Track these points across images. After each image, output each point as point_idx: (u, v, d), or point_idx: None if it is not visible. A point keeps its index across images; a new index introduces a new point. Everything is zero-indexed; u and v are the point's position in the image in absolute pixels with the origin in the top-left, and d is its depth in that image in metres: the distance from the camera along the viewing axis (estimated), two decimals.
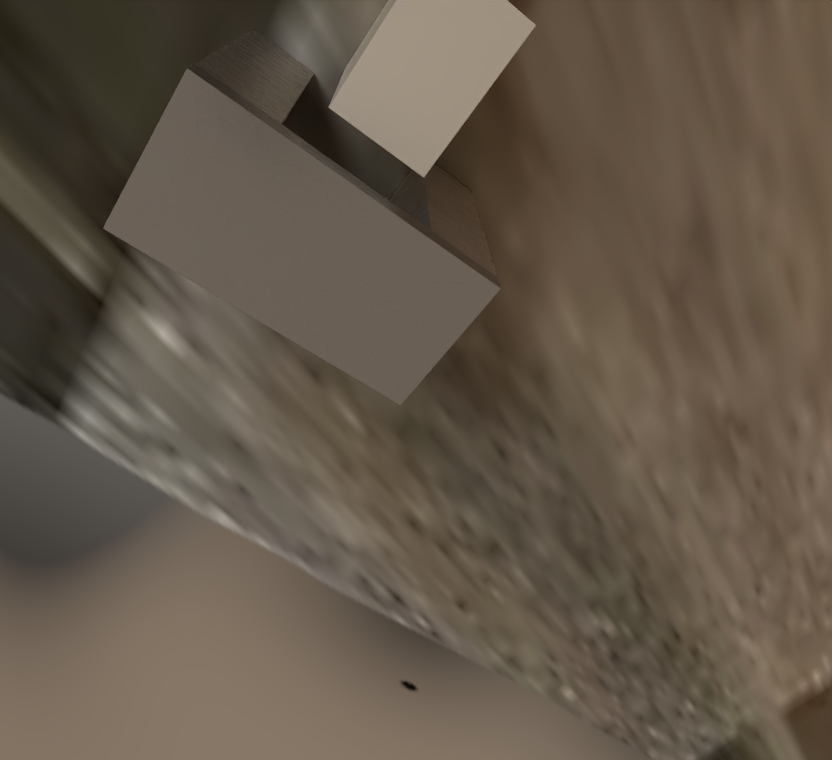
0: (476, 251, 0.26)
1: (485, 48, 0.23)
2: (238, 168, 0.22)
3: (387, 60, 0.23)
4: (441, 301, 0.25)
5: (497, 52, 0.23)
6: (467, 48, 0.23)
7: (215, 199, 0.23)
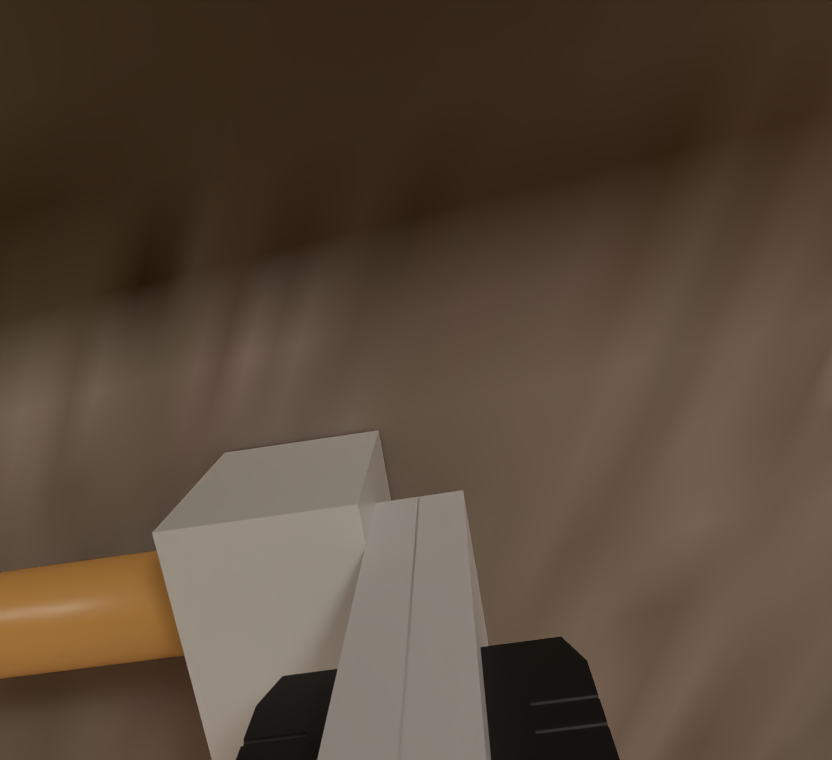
0: None
1: None
2: None
3: None
4: None
5: None
6: None
7: None
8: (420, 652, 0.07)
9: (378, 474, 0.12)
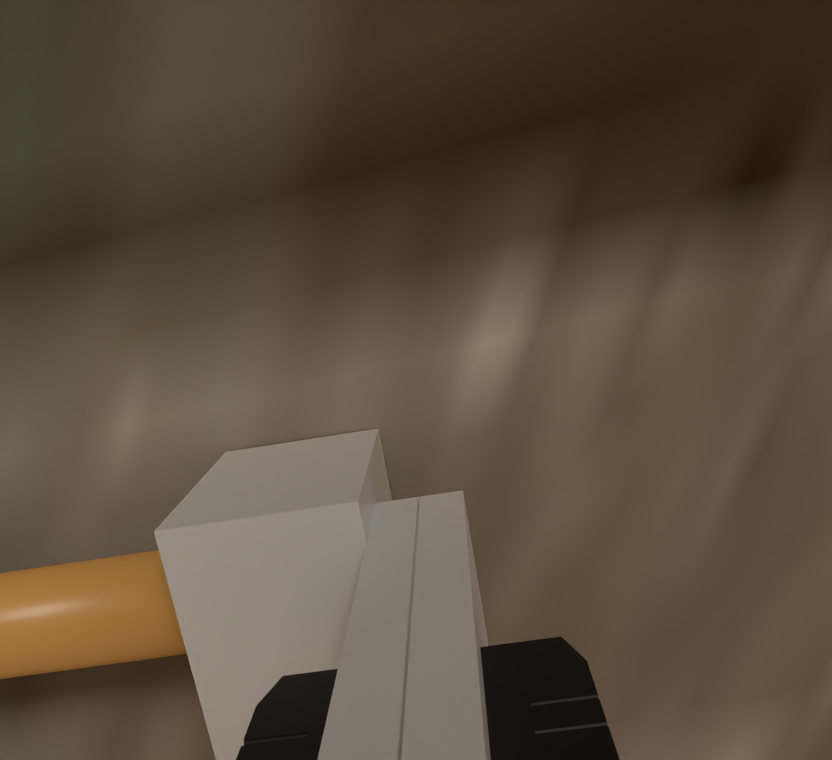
0: None
1: None
2: None
3: None
4: None
5: None
6: None
7: None
8: (420, 652, 0.07)
9: (378, 472, 0.12)
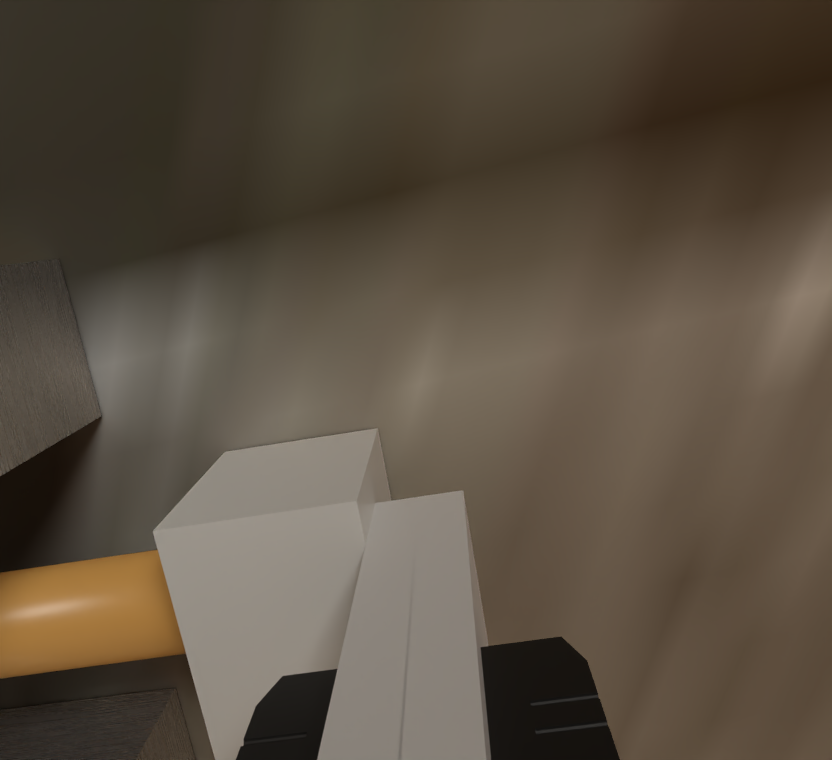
0: None
1: None
2: None
3: None
4: None
5: None
6: None
7: None
8: (420, 652, 0.07)
9: (378, 471, 0.12)
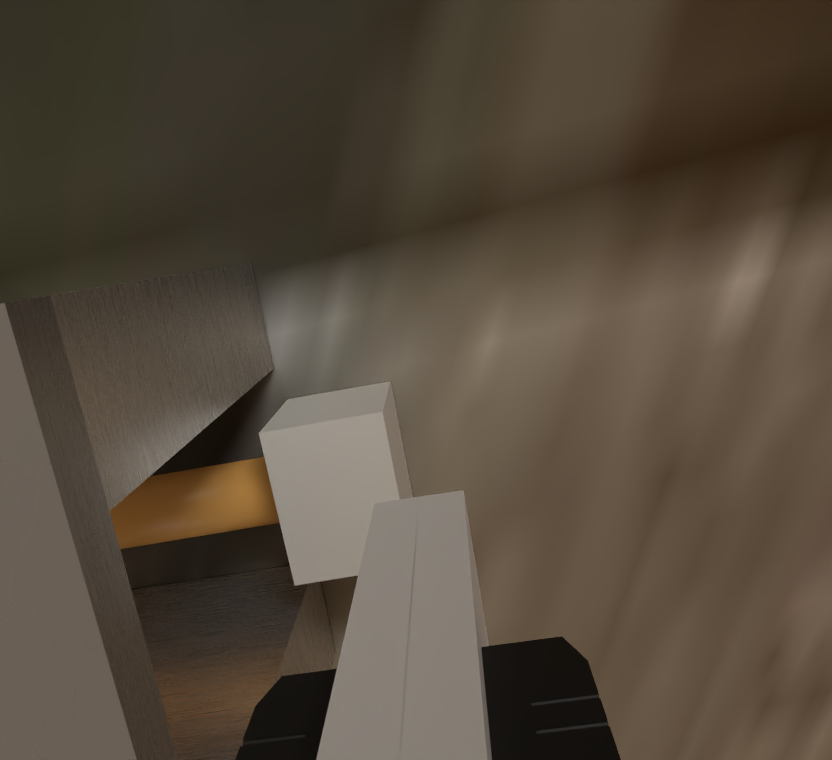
0: None
1: None
2: None
3: None
4: None
5: None
6: None
7: None
8: (419, 652, 0.07)
9: (391, 406, 0.19)
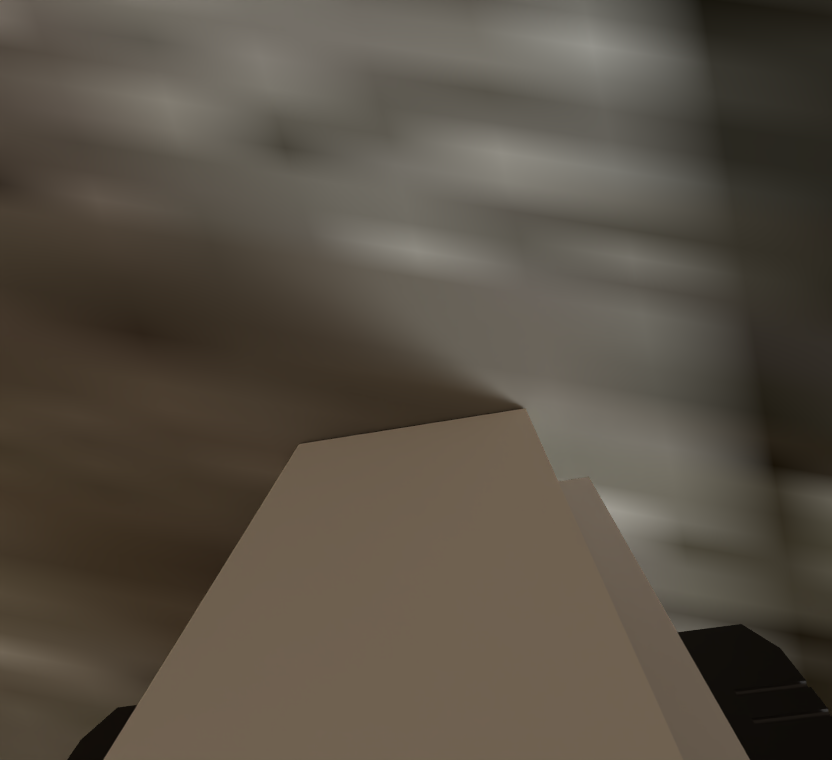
0: None
1: None
2: None
3: None
4: None
5: None
6: None
7: None
8: None
9: None
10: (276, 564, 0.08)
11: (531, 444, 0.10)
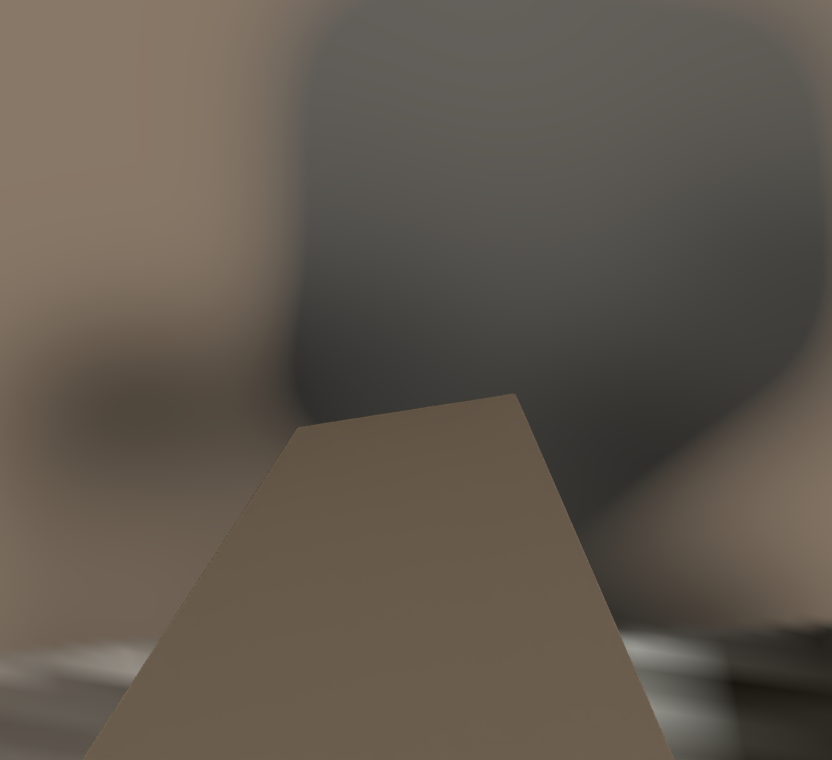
0: None
1: None
2: None
3: None
4: None
5: None
6: None
7: None
8: None
9: None
10: (277, 533, 0.08)
11: (519, 425, 0.11)
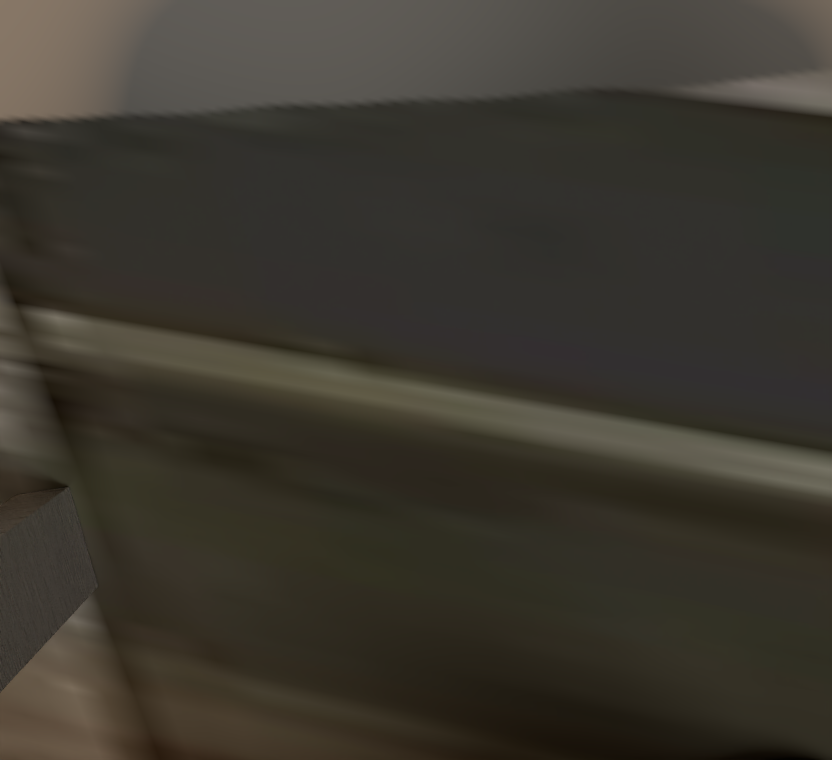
0: None
1: None
2: None
3: None
4: None
5: None
6: None
7: None
8: None
9: None
10: None
11: None
